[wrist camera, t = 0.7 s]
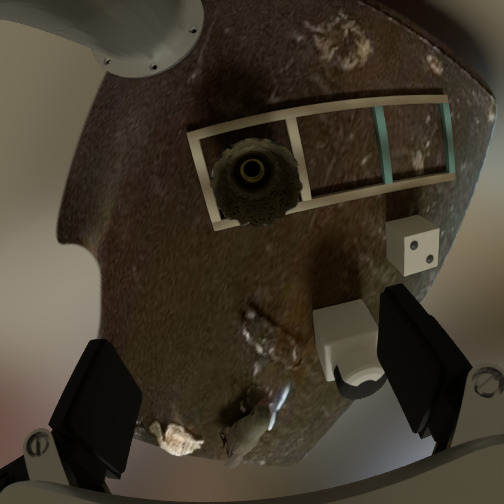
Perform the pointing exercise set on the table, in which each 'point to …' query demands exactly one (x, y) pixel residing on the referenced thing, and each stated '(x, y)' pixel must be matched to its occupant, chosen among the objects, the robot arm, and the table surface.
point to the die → (412, 244)
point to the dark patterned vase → (256, 182)
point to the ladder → (297, 153)
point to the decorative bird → (246, 434)
